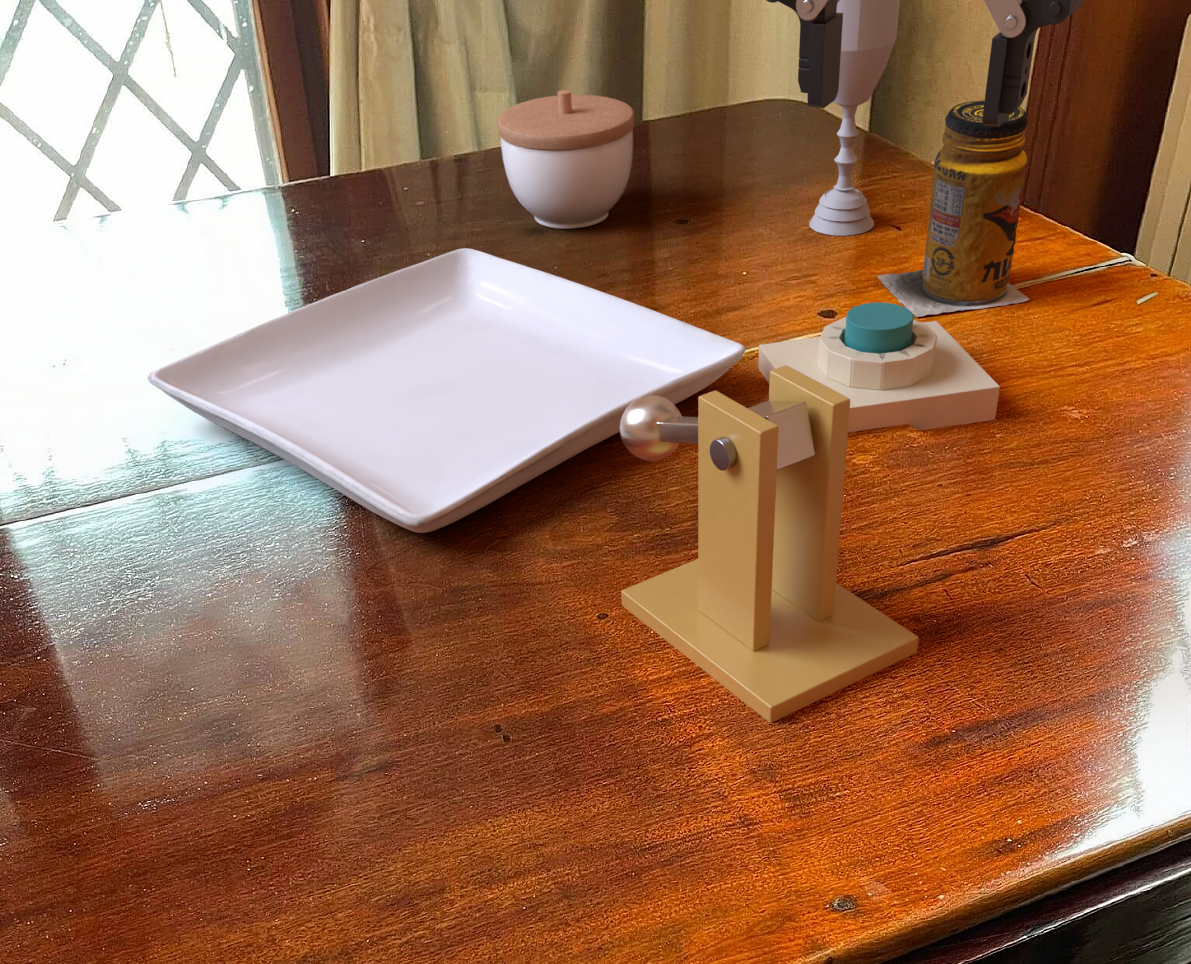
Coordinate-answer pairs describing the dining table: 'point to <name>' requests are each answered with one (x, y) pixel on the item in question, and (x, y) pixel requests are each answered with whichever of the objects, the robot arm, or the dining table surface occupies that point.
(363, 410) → the square plate
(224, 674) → the dining table surface
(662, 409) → the tap lever
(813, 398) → the lever stand
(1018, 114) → the condiment
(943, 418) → the cream button base
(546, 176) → the lidded sugar bowl
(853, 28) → the chalice
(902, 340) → the button
